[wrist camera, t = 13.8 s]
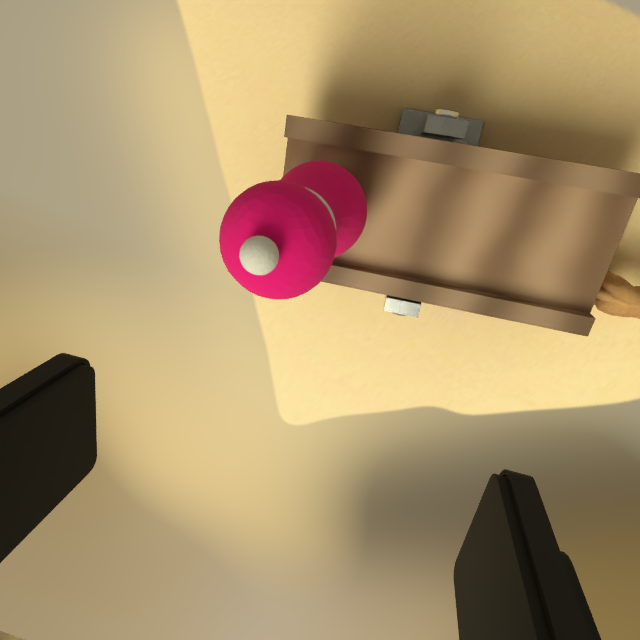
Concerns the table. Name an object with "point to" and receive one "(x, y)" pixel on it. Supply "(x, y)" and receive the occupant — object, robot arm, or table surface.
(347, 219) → the pepper mill
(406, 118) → the beam stand
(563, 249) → the balance beam
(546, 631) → the robot arm
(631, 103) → the table surface
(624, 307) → the lion figurine
